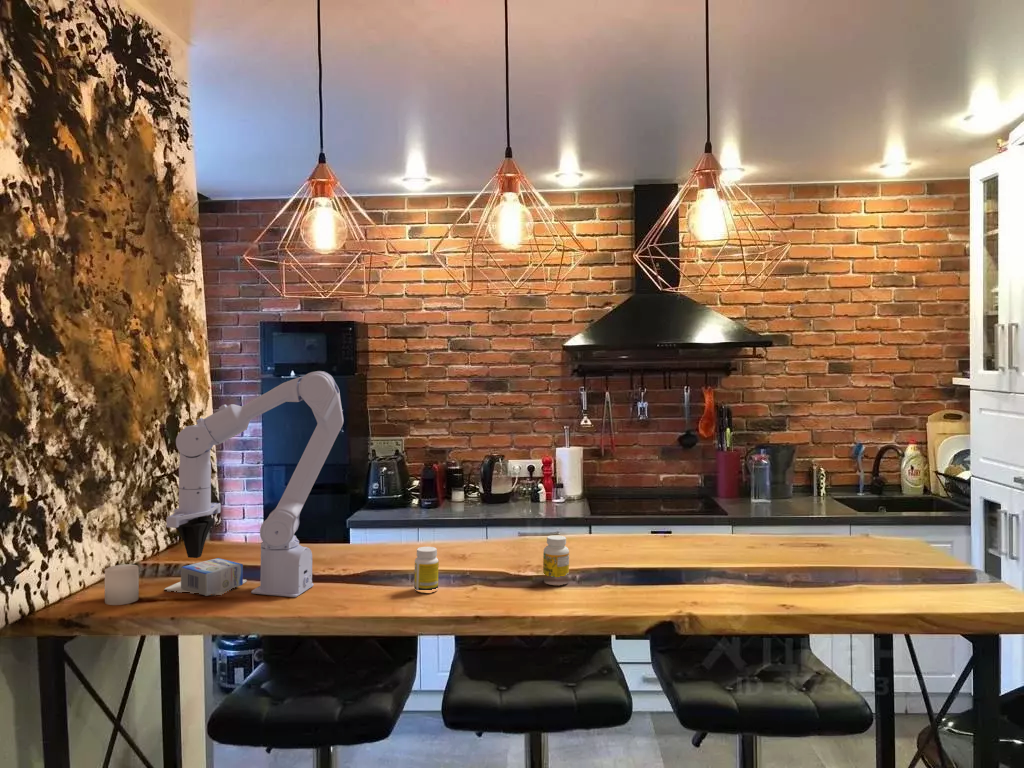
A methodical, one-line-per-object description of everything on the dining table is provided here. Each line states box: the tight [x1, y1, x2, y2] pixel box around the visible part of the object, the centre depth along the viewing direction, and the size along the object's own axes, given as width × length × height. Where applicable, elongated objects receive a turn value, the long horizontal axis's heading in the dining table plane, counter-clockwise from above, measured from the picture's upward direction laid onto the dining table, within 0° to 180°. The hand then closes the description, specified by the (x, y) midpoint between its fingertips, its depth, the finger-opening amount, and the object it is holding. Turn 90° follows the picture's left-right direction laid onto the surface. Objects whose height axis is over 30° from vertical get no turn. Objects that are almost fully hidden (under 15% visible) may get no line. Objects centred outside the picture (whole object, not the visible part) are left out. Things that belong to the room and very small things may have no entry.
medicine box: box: [180, 557, 244, 597], centre depth 148 cm, size 8×4×9 cm
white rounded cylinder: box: [104, 563, 140, 606], centre depth 141 cm, size 6×6×6 cm
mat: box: [163, 578, 248, 596], centre depth 150 cm, size 12×10×1 cm
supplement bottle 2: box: [542, 534, 570, 577], centre depth 157 cm, size 5×5×10 cm
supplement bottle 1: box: [413, 546, 439, 590], centre depth 150 cm, size 5×5×8 cm
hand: (194, 556), depth 146 cm, fingers closed
